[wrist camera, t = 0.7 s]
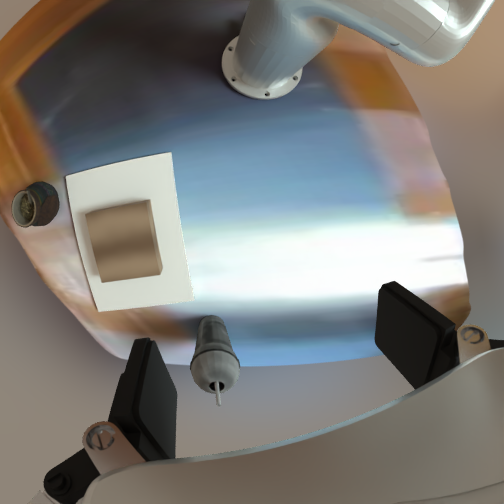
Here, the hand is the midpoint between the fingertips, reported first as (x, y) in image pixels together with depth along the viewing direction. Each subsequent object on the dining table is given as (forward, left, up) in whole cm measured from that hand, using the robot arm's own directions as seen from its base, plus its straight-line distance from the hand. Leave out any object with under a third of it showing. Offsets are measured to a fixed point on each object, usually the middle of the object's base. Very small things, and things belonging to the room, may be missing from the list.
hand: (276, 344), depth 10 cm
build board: (+2, -16, -34) cm, 37 cm away
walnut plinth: (+2, -16, -33) cm, 37 cm away
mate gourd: (-7, -30, -34) cm, 46 cm away
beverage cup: (+20, -5, -34) cm, 40 cm away
